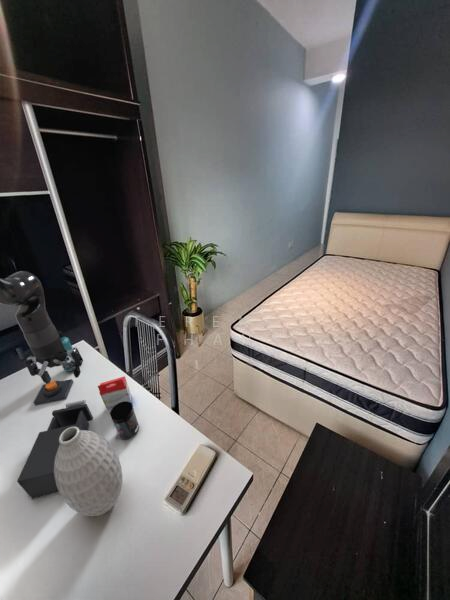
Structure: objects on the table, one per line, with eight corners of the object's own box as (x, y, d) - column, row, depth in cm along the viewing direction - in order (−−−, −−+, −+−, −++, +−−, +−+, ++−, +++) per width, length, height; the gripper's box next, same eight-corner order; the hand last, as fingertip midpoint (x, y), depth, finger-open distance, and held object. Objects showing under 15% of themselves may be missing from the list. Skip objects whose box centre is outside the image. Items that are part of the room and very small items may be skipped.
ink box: (132, 397, 95) (123, 369, 88) (133, 407, 91) (123, 379, 84) (109, 405, 92) (97, 376, 85) (108, 416, 88) (96, 387, 81)
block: (35, 405, 94) (31, 399, 92) (44, 387, 101) (41, 381, 100) (66, 399, 96) (63, 392, 94) (73, 381, 103) (70, 375, 102)
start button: (45, 392, 95) (43, 389, 94) (49, 385, 98) (47, 382, 97) (55, 390, 96) (53, 387, 95) (58, 383, 99) (57, 380, 98)
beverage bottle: (79, 361, 114) (63, 326, 105) (82, 369, 110) (66, 333, 100) (63, 368, 111) (45, 332, 101) (66, 376, 106) (48, 339, 97)
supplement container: (122, 421, 86) (115, 401, 81) (142, 421, 85) (135, 400, 80) (115, 441, 80) (106, 420, 75) (135, 440, 80) (128, 419, 75)
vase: (115, 464, 73) (85, 399, 60) (140, 494, 66) (112, 429, 53) (71, 504, 65) (24, 439, 51) (93, 545, 58) (46, 481, 44)
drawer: (65, 414, 89) (57, 400, 85) (95, 407, 90) (89, 393, 87) (46, 461, 74) (36, 447, 71) (83, 452, 76) (75, 438, 72)
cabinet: (51, 450, 78) (39, 432, 74) (90, 440, 80) (81, 422, 76) (32, 499, 66) (16, 481, 62) (78, 486, 68) (66, 468, 64)
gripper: (73, 327, 77) (89, 366, 84) (22, 335, 74) (43, 375, 82) (66, 341, 70) (84, 382, 78) (9, 351, 67) (34, 392, 75)
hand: (63, 378), depth 80 cm, fingers open, 8 cm apart
